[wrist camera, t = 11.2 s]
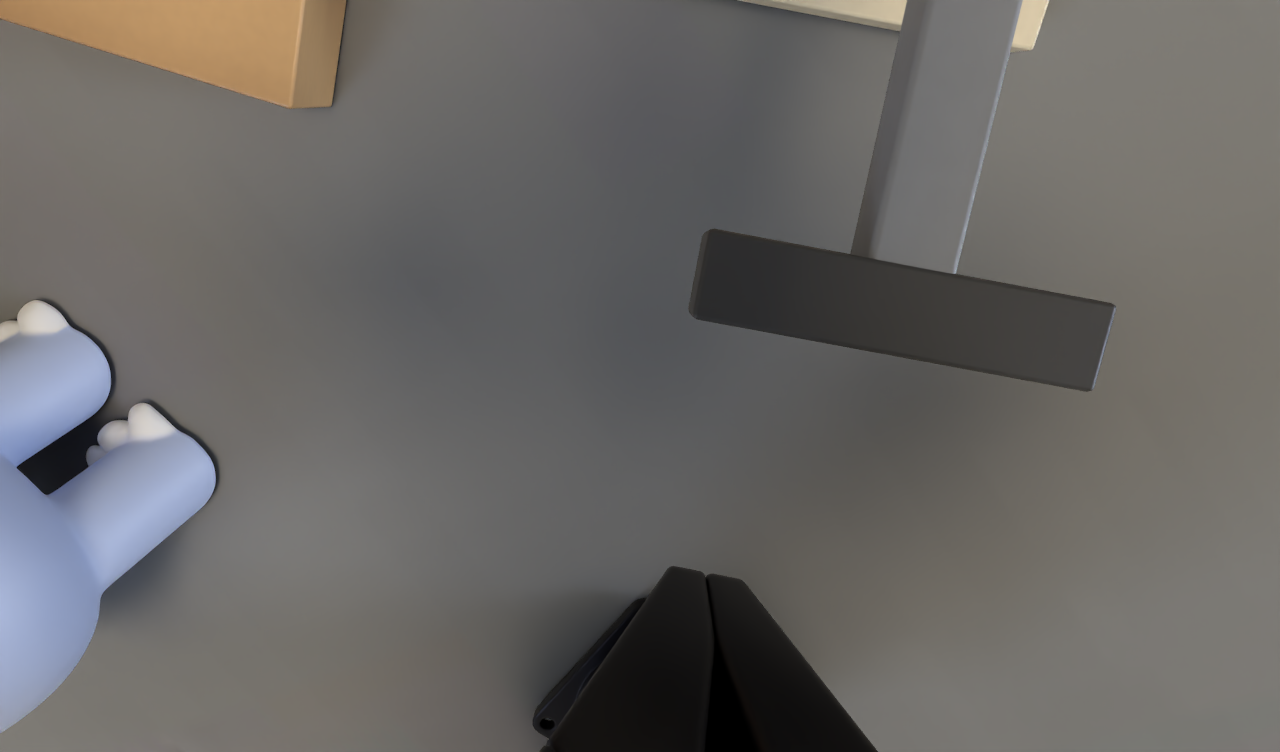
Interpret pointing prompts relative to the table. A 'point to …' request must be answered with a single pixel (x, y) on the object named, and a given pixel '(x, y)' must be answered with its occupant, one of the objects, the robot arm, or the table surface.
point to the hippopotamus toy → (74, 501)
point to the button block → (209, 40)
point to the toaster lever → (915, 231)
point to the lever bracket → (885, 5)
